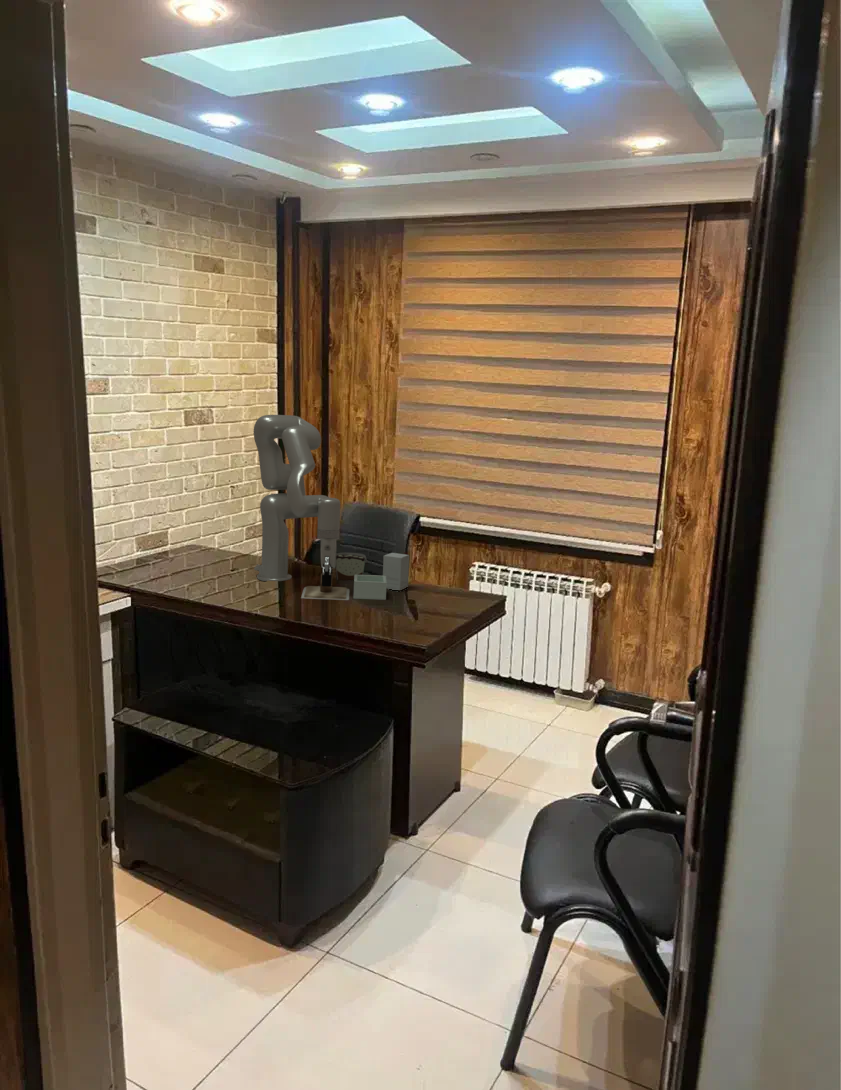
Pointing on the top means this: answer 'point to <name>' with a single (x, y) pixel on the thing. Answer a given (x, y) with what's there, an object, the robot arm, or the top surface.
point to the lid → (325, 591)
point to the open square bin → (370, 587)
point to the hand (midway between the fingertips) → (327, 583)
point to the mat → (326, 598)
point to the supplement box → (396, 570)
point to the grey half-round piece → (349, 565)
